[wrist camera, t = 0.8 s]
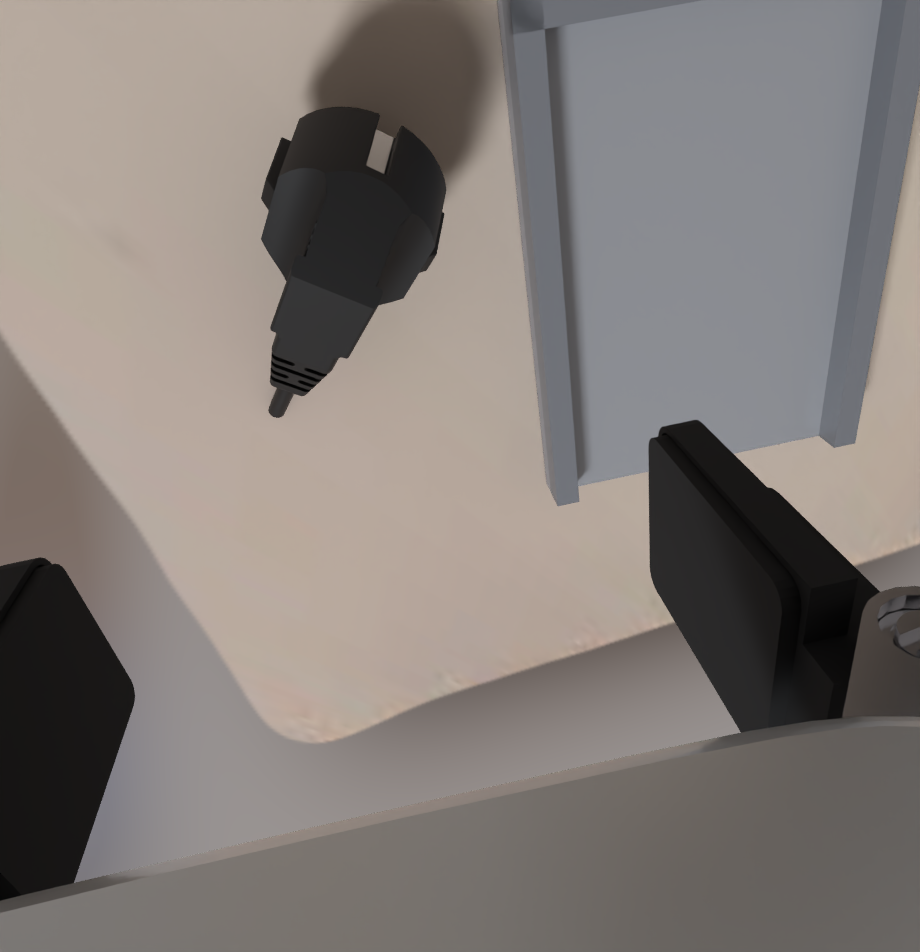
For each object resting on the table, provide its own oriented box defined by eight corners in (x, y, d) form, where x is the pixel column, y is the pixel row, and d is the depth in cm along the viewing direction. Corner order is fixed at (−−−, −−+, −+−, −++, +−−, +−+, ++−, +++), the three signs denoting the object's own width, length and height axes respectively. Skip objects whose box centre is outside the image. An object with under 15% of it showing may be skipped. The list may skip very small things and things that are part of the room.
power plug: (201, 404, 27) (253, 191, 17) (252, 263, 31) (320, 16, 21) (337, 448, 29) (454, 279, 19) (370, 310, 32) (485, 105, 22)
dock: (497, 0, 22) (511, -6, 20) (904, -73, 23) (956, -85, 21) (546, 482, 32) (559, 509, 30) (828, 423, 33) (859, 446, 31)
